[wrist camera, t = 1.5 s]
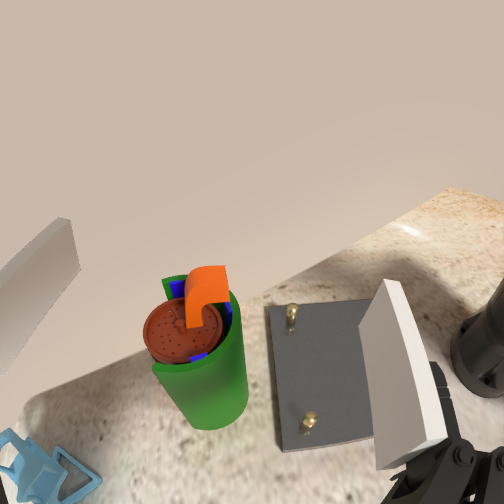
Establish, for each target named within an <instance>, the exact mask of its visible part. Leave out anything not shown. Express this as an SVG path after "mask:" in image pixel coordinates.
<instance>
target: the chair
mask: <svg viewBox="0 0 504 504" xmlns="http://www.w3.org/2000/svg"><path fill="white" fill-rule="evenodd" d="M8 442H11V443H12V445H13V446H14V447H15V448H16V449H17V450H18V451H19V453H18V455H17V456H16V458H15V460H14V461H13V463H12V464H11V466H10V468H7V467H4V466H1V465H0V471H2V472H4V473H7V475H8V476H9V477H10V478H11V479H12V480H13V482H14V483H15V484H16V485H17V486H18V495H17V502H19V503H21V502H29V501H32V502H33V503H34V504H76V503H77V502H78V501H80V500H81V499H82V498H84V497H85V496H86V495H88V494H89V493H90V492H92V491H93V490H94V489H95V488H97V487H98V486H99V485H100V484H101V482H102V479H101V478H100V477H99V476H97V475H96V474H94V473H93V472H91V471H90V470H89V469H87V468H86V467H85V466H83V465H82V464H81V463H79V462H78V461H77V460H75V459H74V458H73V457H72V456H70V455H69V454H68V453H67V452H65V451H64V450H63V449H62V448H60V447H59V446H55V448H54V450H53V453H52V457H50V456H49V455H48V454H47V453H46V452H45V451H44V450H43V449H42V448H41V447H40V446H39V445H38V444H37V443H36V442H35V441H34V440H33V439H31V438H30V437H27V438H26V440H25V441H24V440H22V439H21V438H20V437H19V436H18V435H17V434H16V433H15V432H14V431H13V430H12V429H11V428H8V429H6V430H4V431H3V432H1V433H0V450H1V448H2V447H3V446H4V445H5V444H7V443H8ZM60 454H62V455H64V456H65V457H66V458H67V459H68V460H69V461H71V462H72V463H73V464H74V465H76V466H77V467H78V468H79V469H81V470H82V471H83V472H84V473H86V474H87V475H88V476H90V477H91V478H92V479H93V480H92V481H91V482H90V483H88V484H87V485H85V486H84V487H82V488H81V489H79V490H78V491H76V492H75V493H73V494H72V495H70V496H69V497H67V498H66V499H64V500H63V501H62V502H59V501H58V498H57V496H58V492H59V489H60V487H61V484H62V483H63V481H64V480H65V478H66V476H67V475H68V473H69V472H68V471H67V470H65V469H64V468H63V467H62V466H61V465H59V458H60Z"/></svg>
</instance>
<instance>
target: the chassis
mask: <svg viewBox="0 0 504 504" xmlns="http://www.w3.org/2000/svg"><path fill="white" fill-rule="evenodd" d="M372 300H373V299H365V300H354V301H343V302H331V303H318V304H304V305H297V304H296V303H290V304H288V306H269V318H270V328H271V337H272V347H273V357H274V367H275V377H276V387H277V397H278V407H279V418H280V428H281V439H282V450H283V453H285V452H295V451H303V450H311V449H318V448H325V447H331V446H337V445H342V444H347V443H352V442H357V441H361V440H366V439H370V438H374V432H373V422H372V413H371V404H370V396H369V389H368V382H367V375H366V368H365V362H364V355H363V349H362V344H361V338H360V333H359V327H358V326H359V324H360V322H361V321H362V319H363V317H364V315H365V313H366V312H367V310H368V308H369V306H370V304H371V302H372Z"/></svg>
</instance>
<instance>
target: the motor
mask: <svg viewBox="0 0 504 504" xmlns="http://www.w3.org/2000/svg"><path fill="white" fill-rule="evenodd" d="M162 283H163V286H164V289H165V293H166V296H167V298H168V301H166V302H164V303H163V304H161V305H159V306H158V307H157V308H156V309H154V310H153V311H152V312H151V314H150V315H149V316H148V318H147V320H146V322H145V324H144V328H143V338H144V342H145V344H146V346H147V348H148V350H149V352H150V353H151V355H152V357H153V359H154V360H155V364H154V366H153V368H152V370H153V372H154V373H155V375H156V376H157V378H158V379H159V381H160V382H161V384H162V385H163V387H164V388H165V390H166V391H167V393H168V394H169V395H170V397H171V398H172V400H173V401H174V403H175V404H176V405H177V407H178V408H179V409H180V411H181V412H182V413H183V415H184V416H185V417H186V419H187V420H188V421H189V423H190V424H191V425H192V427H193V428H196V429H200V430H214V429H219V428H222V427H225V426H227V425H229V424H231V423H232V422H234V421H235V420H236V419H237V418H238V417H239V416H240V415H241V414H242V412H243V411H244V409H245V407H246V404H247V401H248V383H247V373H246V364H245V354H244V344H243V334H242V324H241V313H240V308H239V304H238V302H237V300H236V298H235V296H234V295H233V294H232V292H231V291H230V290H229V287H228V280H227V276H226V271H225V266H204V267H199V268H196V269H194V270H192V271H191V272H190V273H189V275H178V276H172V277H168V278H165V279H162ZM169 311H171V312H169Z"/></svg>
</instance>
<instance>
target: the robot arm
mask: <svg viewBox="0 0 504 504" xmlns="http://www.w3.org/2000/svg"><path fill="white" fill-rule="evenodd" d="M80 271H81V269H80V264H79V260H78V256H77V251H76V247H75V241H74V237H73V231H72V226H71V221H70V220H69V219H64V218H59V217H58V218H57V219H56V220H54V221H53V222H52V223H51V224H50V225H49V226H47V227H46V228H45V229H44V230H43V231H42V232H41V233H39V234H38V235H37V236H36V237H35V238H34V239H33V240H32V241H31V242H29V243H28V244H27V245H26V246H25V247H24V248H23V249H22V250H21V251H20V252H19V253H18V254H17V255H16V256H15V257H14V258H13V259H12V260H10V261H9V262H8V264H7V265H5V267H4V268H3V269H2V270H1V271H0V374H2V375H3V376H5V375H6V373H7V371H8V370H9V368H10V366H11V365H12V363H13V362H14V360H15V359H16V357H17V355H18V354H19V352H20V351H21V349H22V348H23V346H24V345H25V343H26V342H27V340H28V339H29V337H30V336H31V334H32V333H33V332H34V330H35V329H36V327H37V326H38V325H39V323H40V322H41V320H42V319H43V318H44V316H45V315H46V314H47V312H48V311H49V309H50V308H51V307H52V306H53V304H54V303H55V302H56V300H57V299H58V298H59V296H60V295H61V294H62V293H63V291H64V290H65V289H66V288H67V286H68V285H69V284H70V283H71V281H72V280H73V279H74V277H76V275H77V274H78V273H79V272H80ZM358 327H359V333H360V338H361V344H362V349H363V355H364V362H365V368H366V375H367V382H368V389H369V396H370V404H371V413H372V422H373V432H374V443H375V457H376V470H386V469H394V468H397V467H399V466H401V465H403V464H405V463H406V470H404V471H402V472H400V473H398V474H396V475H394V476H393V477H392V478H391V479H390V480H391V481H393V480H395V479H397V478H398V480H397V481H396V482H395V484H394V486H393V487H392V489H391V490H390V492H389V493H388V494H387V496H386V497H385V498H384V500H383V501H382V502H381V504H504V446H500V447H498V448H497V449H495V450H493V451H492V452H490V453H488V452H482V451H477V450H475V449H474V447H473V445H472V444H471V443H470V442H469V441H467V440H465V439H462V438H461V435H460V432H459V428H458V423H457V419H456V415H455V411H454V407H453V403H452V400H451V399H450V393H449V389H448V388H447V382H446V379H445V376H444V373H443V371H442V370H441V368H440V367H439V365H438V364H437V362H430V361H428V358H427V355H426V352H425V349H424V346H423V343H422V340H421V337H420V334H419V331H418V328H417V325H416V322H415V320H414V317H413V314H412V312H411V309H410V306H409V304H408V301H407V299H406V296H405V294H404V291H403V289H402V286H401V284H400V282H398V281H393V280H388V279H383V281H382V283H381V285H380V287H379V289H378V291H377V293H376V295H375V297H374V298H373V300H372V302H371V304H370V306H369V308H368V310H367V312H366V313H365V315H364V317H363V319H362V321H361V322H360V324H359V326H358ZM451 358H452V363H453V366H454V368H455V371H456V373H457V375H458V376H459V378H460V380H461V381H462V382H463V384H464V385H465V386H466V387H467V388H468V389H469V390H471V391H472V392H473V393H475V394H477V395H479V396H481V397H484V398H497V397H500V396H502V395H503V394H504V278H503V279H502V281H501V283H500V284H499V286H498V287H497V289H496V291H495V292H494V294H493V295H492V297H491V298H490V300H489V301H488V303H487V304H486V305H484V306H483V307H482V308H480V309H479V310H477V311H476V312H475V313H473V314H472V315H470V316H469V317H467V318H466V319H465V320H464V321H463V322H462V323H461V324H460V326H459V327H458V329H457V330H456V331H455V333H454V335H453V337H452V341H451ZM475 493H476V494H475ZM473 494H475V498H474V501H472V502H470V496H471V495H473ZM0 504H8V500H7V497H6V494H5V491H4V487H3V484H2V480H1V477H0Z"/></svg>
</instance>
